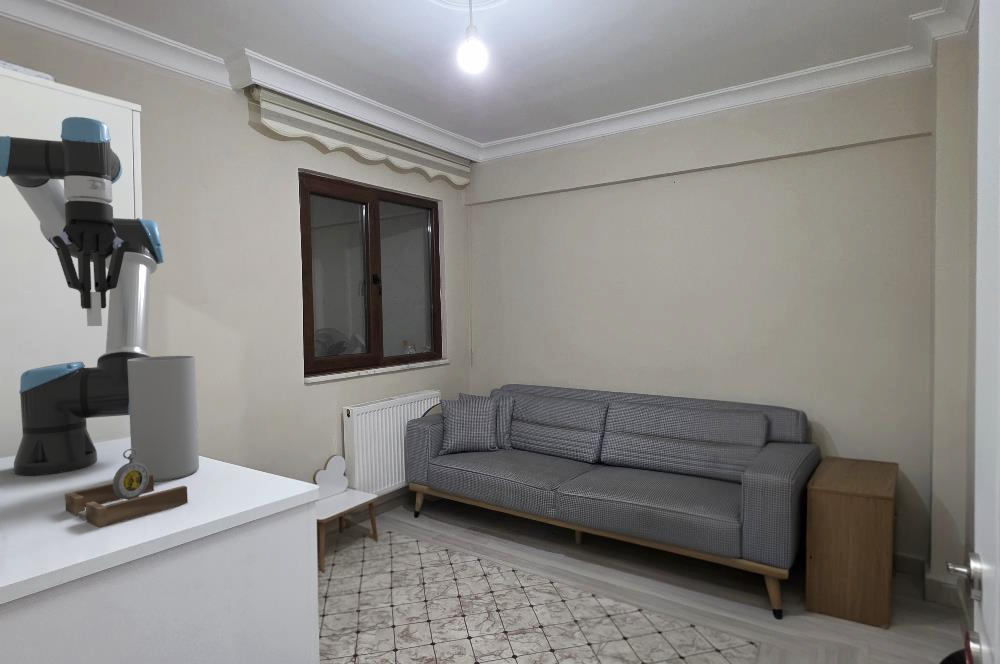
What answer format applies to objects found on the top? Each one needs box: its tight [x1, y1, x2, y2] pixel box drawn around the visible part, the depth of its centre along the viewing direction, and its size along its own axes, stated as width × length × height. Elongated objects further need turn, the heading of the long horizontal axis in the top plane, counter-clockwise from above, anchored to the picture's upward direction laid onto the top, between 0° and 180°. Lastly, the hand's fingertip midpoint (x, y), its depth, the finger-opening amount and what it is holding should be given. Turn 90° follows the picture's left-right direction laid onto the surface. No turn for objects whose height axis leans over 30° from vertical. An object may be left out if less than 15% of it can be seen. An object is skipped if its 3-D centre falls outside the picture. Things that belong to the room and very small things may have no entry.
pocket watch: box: [112, 448, 149, 500], centre depth 106 cm, size 8×8×10 cm
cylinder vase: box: [127, 355, 200, 482], centre depth 126 cm, size 12×12×25 cm
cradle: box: [64, 474, 189, 528], centre depth 105 cm, size 14×14×3 cm
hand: (94, 325), depth 113 cm, fingers closed
